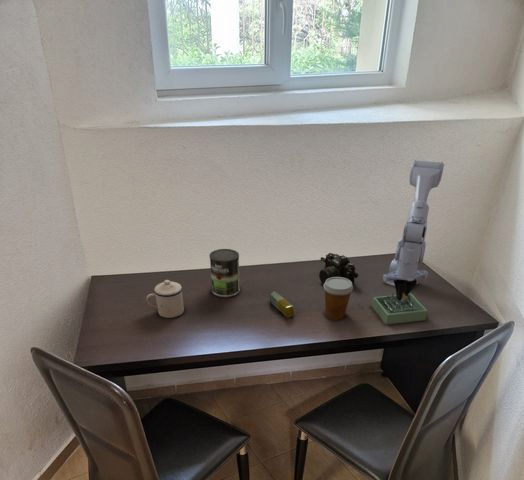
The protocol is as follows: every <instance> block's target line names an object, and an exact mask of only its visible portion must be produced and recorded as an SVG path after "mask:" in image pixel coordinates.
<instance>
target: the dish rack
mask: <svg viewBox="0 0 524 480" xmlns="http://www.w3.org/2000/svg"><path fill="white" fill-rule="evenodd" d="M391 295H392V297H391V300H388V298H389V296H390V293H387V296H388V297H387V301H383V303H384V304H385V305H386V306H387V307H388V309H389V310H390V311H391V312H392V313H396V312H405V311H414V310H416V308H415V307H414V303H415V302H414V301H413V305H412V304H411V303H410V301H409V300H408V299H407V296H406V295H405V294H404V293H403V294H402V299H401V300H398V299H397V298H396V300H392V299H393V295H394V293H393V292H392V293H391ZM400 301H401V302H402V303H400V304H399V303H398V302H400ZM405 301H406V302H407V303H408V304H409V305H408V306H407V305H406V304H405ZM392 302H396V307H395V306H394V304H393V303H392ZM387 303H390V304H391V305H392V306H393V307H394V308H395V310H392V308H391V307H390V306H389V305H388V304H387ZM402 304H403V306H402V307H401V305H402ZM397 305H398V306H399V307H400V308H399V310H398V309H397ZM404 306H405V307H406V308H407V309H404ZM409 306H411V307H412V308H411V309H409ZM400 309H402V310H400Z"/></svg>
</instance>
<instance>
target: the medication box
mask: <svg viewBox="0 0 524 480" xmlns="http://www.w3.org/2000/svg"><path fill="white" fill-rule="evenodd" d="M269 299H270V303H271V304H272V305H273V306H274V307H275V308H276V309H277V310H278V311H280V313H282V314H283V315H284V316H285V318H291V317H293V316H294V315H295V314H294V305H292V304H291V303H290V302H289V301H287V300H286V298H284V297H283V296H282V295H281V294H279V293H278V292H277V291H276V290H275V291H272V292H270V293H269Z"/></svg>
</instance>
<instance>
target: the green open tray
mask: <svg viewBox="0 0 524 480" xmlns="http://www.w3.org/2000/svg"><path fill="white" fill-rule="evenodd" d="M387 297H388V295H382V296H373V297H372V302H371V307H372V308H373V310H374V311H375V312H376V314H377V315H378V316H379V318H380V319H381V320H382V321H383V323H384V324H385V325H393V324H402V323H411V322H420V321H426V320H427V316H428V309H427V308H426V307H425V306H424V305H423V304H422V303H421V302H420V301H419V300H418V298H416V297H415V296H414V295H413V293H411V292H409V294H408V296H407V299H408V300H409V301H410V303H411V304H412V305H413V301H414V302H415V303H414V307H415V308H416V310H414V311H405V312H396V313H392V312H391V311H390V310H389V309H388V307H387V306H386V305H385V304H384V303H383V301H387ZM391 297H392V294H391V295H390V294H389V298H388V300H391ZM392 300H396V294H393V299H392ZM392 303H393V304H394V306H395V307H396V302H392ZM398 303H399V304H400V303H402V302H401V301H400V302H398ZM387 304H388V305H389V306H390V307H391V308H392V310H395V308H394V307H393V306H392V305H391V304H390V303H387ZM405 304H406V305H407V306H408V305H409V304H408V303H407V302H406V301H405ZM402 306H403V304H402V305H401V307H402ZM399 308H400V307H399V306H398V305H397V309H398V310H399ZM411 308H412V307H411V306H409V309H411ZM404 309H407V308H406V307H405V306H404ZM400 310H402V309H400Z"/></svg>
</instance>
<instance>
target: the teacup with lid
mask: <svg viewBox="0 0 524 480" xmlns="http://www.w3.org/2000/svg"><path fill="white" fill-rule="evenodd" d="M151 297H155V301H156V304H155V303H152V302H151V301H150V298H151ZM146 303H147V304H148V306H150V307H152V308H157V313H158V315H159V316H160V317H163V318H167V319H172V318H177V317H179V316H181V315H182V314H183V313H184V311H185V308H184V299H183V286H182V285H181V284H180V283H178V282H176V281H171V280H170V279H164V281H163V282H160V283H158V284H157V285H155V287H154V290H153V293H149V294H147V296H146Z"/></svg>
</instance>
